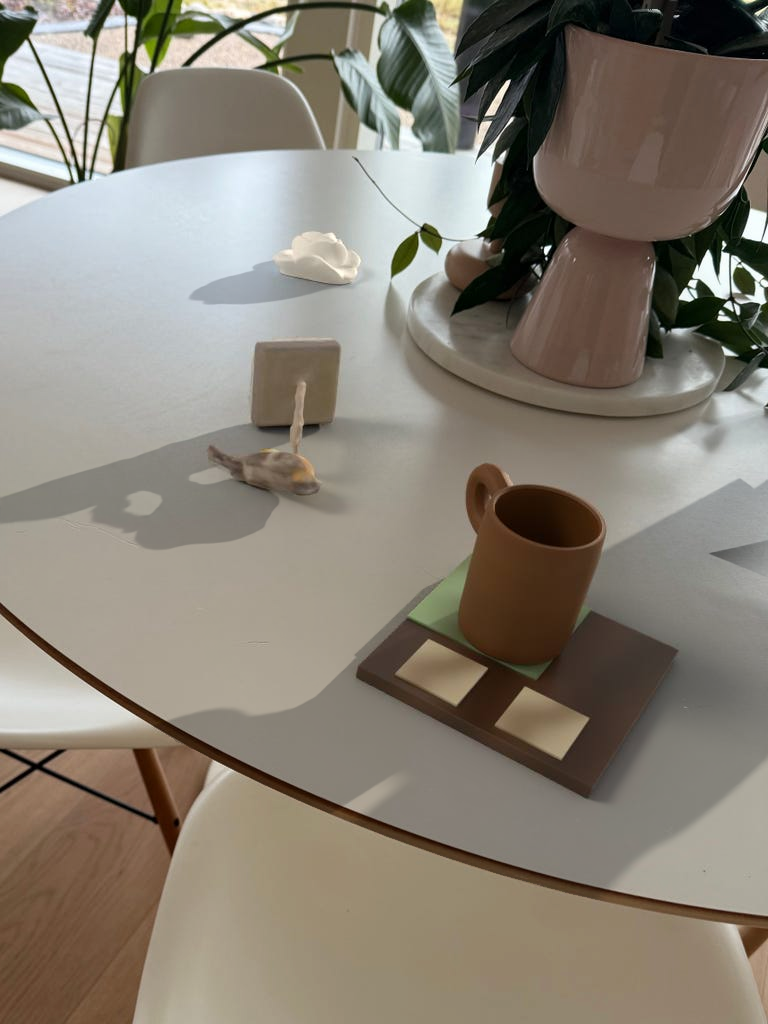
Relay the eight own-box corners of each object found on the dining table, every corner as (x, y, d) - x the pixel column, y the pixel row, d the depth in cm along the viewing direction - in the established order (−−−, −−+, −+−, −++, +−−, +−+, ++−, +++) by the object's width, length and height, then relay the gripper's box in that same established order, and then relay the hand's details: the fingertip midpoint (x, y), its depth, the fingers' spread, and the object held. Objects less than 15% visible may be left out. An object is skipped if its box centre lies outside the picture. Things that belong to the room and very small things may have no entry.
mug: (405, 569, 74) (430, 453, 68) (497, 554, 77) (529, 441, 71) (490, 679, 66) (527, 559, 60) (589, 658, 68) (634, 541, 62)
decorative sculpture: (317, 512, 81) (329, 428, 76) (194, 493, 81) (199, 408, 76) (335, 414, 93) (346, 337, 88) (228, 398, 93) (234, 320, 89)
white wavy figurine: (299, 250, 111) (260, 218, 117) (295, 291, 114) (257, 258, 120) (379, 244, 115) (337, 213, 121) (373, 283, 118) (332, 251, 124)
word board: (674, 660, 71) (680, 647, 70) (587, 799, 60) (593, 785, 60) (467, 566, 77) (470, 553, 76) (355, 677, 66) (358, 663, 66)
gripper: (938, -215, 80) (826, 91, 93) (635, -251, 76) (563, 74, 89) (1003, -215, 74) (874, 111, 87) (679, -254, 70) (595, 94, 83)
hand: (717, 93), depth 88 cm, fingers open, 13 cm apart
